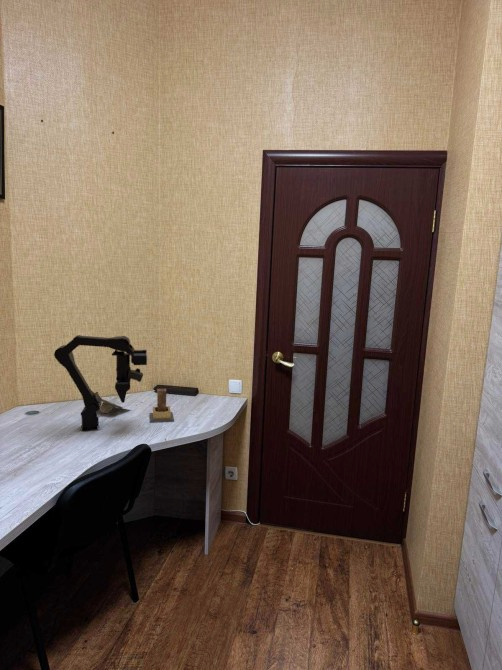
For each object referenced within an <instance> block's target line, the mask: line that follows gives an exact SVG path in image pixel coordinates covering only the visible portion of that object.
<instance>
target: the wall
mask: <svg viewBox="0 0 502 670" xmlns="http://www.w3.org/2000/svg"><path fill="white" fill-rule="evenodd" d="M101 401H102V404H101V407H100V409H99V411H100V412H102V413H105V414H109V413H110V412H111V411H112V409H113V408H118V409H119V410H120V409H121V410H123V409H125V410H128V411H129V410H130V409H128V408H127V407H126V408H125V407H123V406H121V405H118V404H116V403H115V402H111V401H109V400H106V399H104V398H102V399H101Z"/></svg>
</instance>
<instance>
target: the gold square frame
mask: <svg viewBox="0 0 502 670" xmlns="http://www.w3.org/2000/svg"><path fill="white" fill-rule="evenodd" d="M170 422H173V423H174V422H175V417H174V413H173V411H171V405H169V406H168V405H166V411H157V406H152V412H149V423H170Z"/></svg>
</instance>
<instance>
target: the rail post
mask: <svg viewBox="0 0 502 670" xmlns="http://www.w3.org/2000/svg"><path fill="white" fill-rule="evenodd" d="M156 392H157V393H156V398H157V399H156V400H157V401H156V405H157V406H156V407H157V411H166V406H167V388H157V389H156Z"/></svg>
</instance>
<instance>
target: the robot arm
mask: <svg viewBox="0 0 502 670" xmlns="http://www.w3.org/2000/svg"><path fill="white" fill-rule="evenodd" d="M79 346H85V347H86V346H87V347H97V348H98V347H99V348H100V347H102V348H108V349H109V348H110V349H112V350H114V351H112V354H111V356H115V359H116V363H115V364H116V365H115V366H116V367H115V368H116V369H115V370H116V379H115V380H116V381H115V383H114V389H115V391H116V394H117V396H118V397H119V399H120V401H121V403H125V400H126V395H127V392H128V391H130V389H131V380H134V381H137V382H139V383H141V382H142V379H143V377H144V373H143V372H141V368H138V367H137V368H135V369H132V367H131V364H133V366H147V365H148V356H147V354H148V353H147V349H135V348H134V346H133V345H132V344H131V340H130V338H129V337H128V336H125V335H119V336H112V337H103V336H102V337H101V336H89V335H81V334H78V335H75V337H73V338H72V339H71V340H70V341H69V342H68V343H66V344H64V345H63V344H62V345H60V346H59V347H57V349H55V351H54V353H53V356H54V358H55V359H56V361H57V362H58V363H59V364H60V365H61V366H62V367H64V368H65V369H66V371H67V373H68V375H69V376H70V378H71V380H72V381H73V383H74V385H75V386H76V388H77V390H78V391H79V393H80V394H81V396H82V401H83V402H82V403H83V404H84V407H83V408H82V410H81V411H80V417H81V425H80V427H81V431H82V432H86V431H87V432H88V431H96V430H99V426H100V425H99V424H100V423H99V420H100V419H99V416H98V414H97V413H98V412H99V411H100V408H101V405H102V403H103V402H102V401H101V399H103V398H102V397H101V396H100V394H99V392H98V391H96V392H94V391H93V390H92V389H91V388H90V386H89V384H88V382H87V380H86V379H85V378H84V376H83V374H82V372H81V371H80V369H79V367H78V366H77V364H76V361H75V357H74V354H73V351H74V350H76V348H78V347H79Z"/></svg>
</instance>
